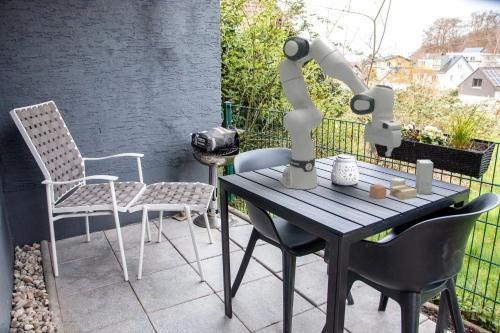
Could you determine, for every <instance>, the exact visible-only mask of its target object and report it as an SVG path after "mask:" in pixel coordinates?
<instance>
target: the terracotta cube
mask: <svg viewBox="0 0 500 333" xmlns="http://www.w3.org/2000/svg"><path fill="white" fill-rule="evenodd" d="M369 197H371V198H373V199H376V200H380V199H381V200H382V199H385V198H386V199H387V186H384V185H381V184H373V185H370V187H369Z"/></svg>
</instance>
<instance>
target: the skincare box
mask: <svg viewBox="0 0 500 333" xmlns="http://www.w3.org/2000/svg"><path fill="white" fill-rule="evenodd" d="M415 170H416V171H415V173H416V174H415V188H414V189H417V193H418V194H420V195H423V194H424V195H432V188H433V171H434V162H432V161H431V159H417V160H416V169H415Z"/></svg>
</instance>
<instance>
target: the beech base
mask: <svg viewBox="0 0 500 333" xmlns="http://www.w3.org/2000/svg"><path fill="white" fill-rule="evenodd" d="M417 193H418V192H417V189H415V188H413V187H411V186H409V185H406V184H405V185H400V186H394V187H390V186H389V195H390V196H392V197H395V198H397V199H399V200H402V201H403V200H410V199H416V198H417V195H418V194H417Z"/></svg>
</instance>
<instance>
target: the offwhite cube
mask: <svg viewBox="0 0 500 333" xmlns="http://www.w3.org/2000/svg"><path fill="white" fill-rule="evenodd" d="M400 185H406V178H405V179H404V178H399V177H393V178H391V179H390V180H389V188H390V187H394V186H400Z"/></svg>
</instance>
